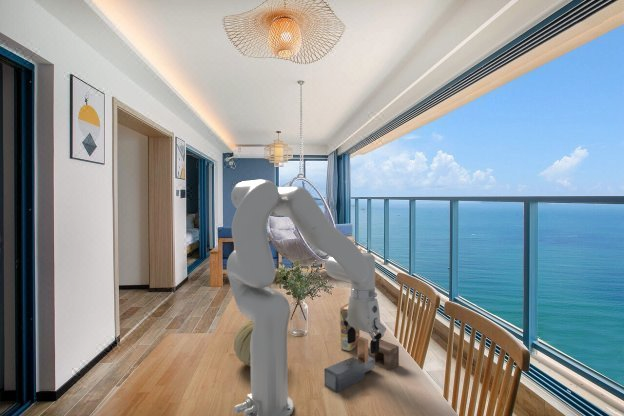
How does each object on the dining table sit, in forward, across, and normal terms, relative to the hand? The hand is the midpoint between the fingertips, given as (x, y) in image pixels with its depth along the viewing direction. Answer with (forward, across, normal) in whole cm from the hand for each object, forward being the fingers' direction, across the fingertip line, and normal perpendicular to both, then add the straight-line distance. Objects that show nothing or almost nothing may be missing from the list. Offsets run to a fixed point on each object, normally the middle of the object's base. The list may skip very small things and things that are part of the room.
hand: (362, 347), depth 113 cm
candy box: (+9, +17, -12) cm, 23 cm away
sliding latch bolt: (+7, 0, +4) cm, 8 cm away
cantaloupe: (+8, +27, +22) cm, 36 cm away
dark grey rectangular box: (+8, 0, +8) cm, 12 cm away
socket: (+8, 0, -10) cm, 13 cm away
